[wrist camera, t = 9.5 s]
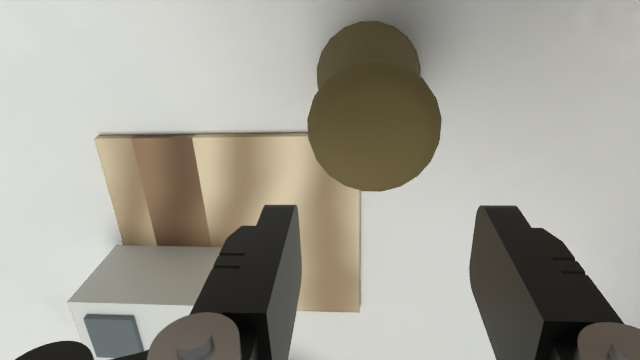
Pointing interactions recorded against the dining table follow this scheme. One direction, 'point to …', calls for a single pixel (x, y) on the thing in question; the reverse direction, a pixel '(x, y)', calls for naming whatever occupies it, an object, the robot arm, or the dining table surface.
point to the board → (237, 201)
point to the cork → (372, 109)
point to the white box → (138, 296)
